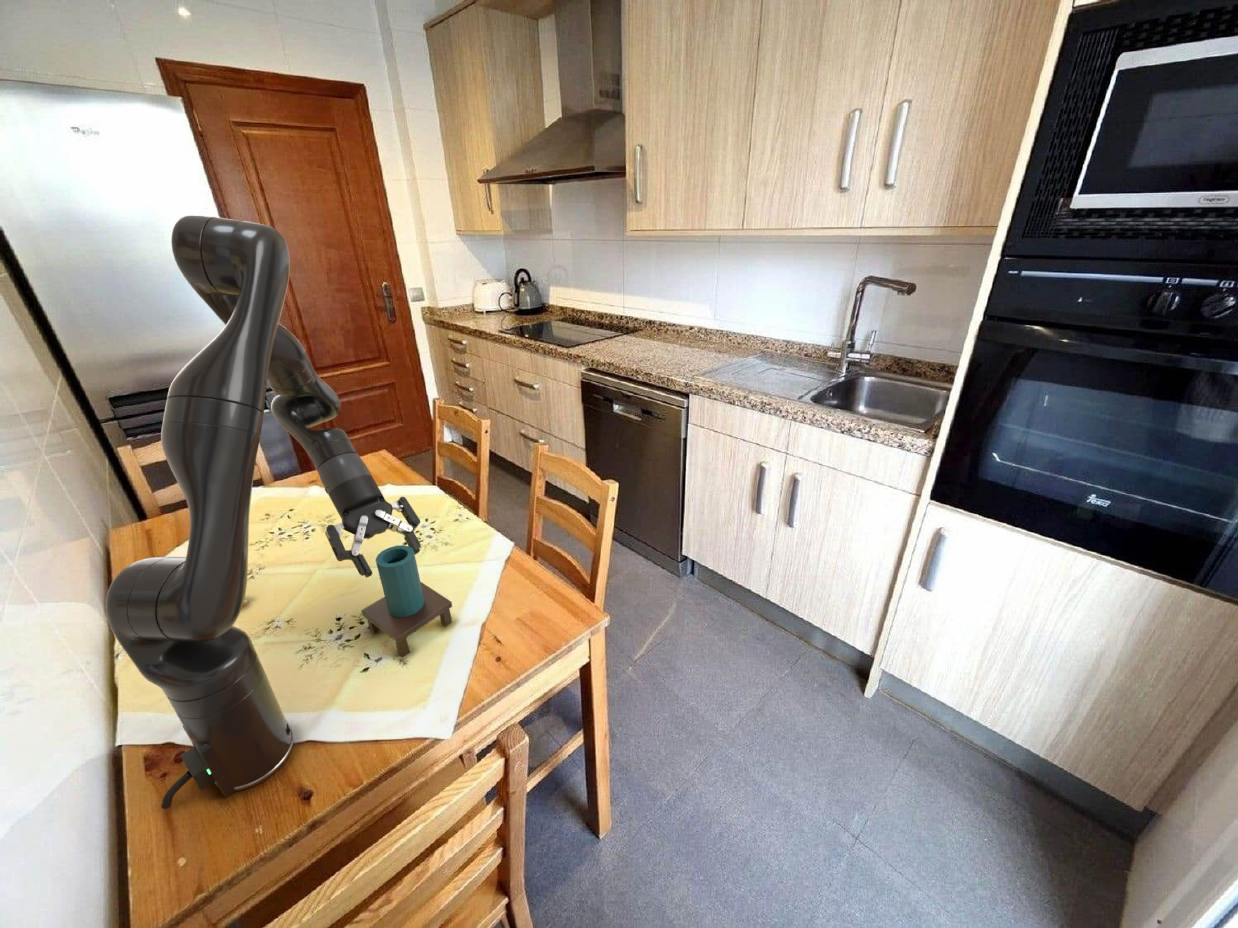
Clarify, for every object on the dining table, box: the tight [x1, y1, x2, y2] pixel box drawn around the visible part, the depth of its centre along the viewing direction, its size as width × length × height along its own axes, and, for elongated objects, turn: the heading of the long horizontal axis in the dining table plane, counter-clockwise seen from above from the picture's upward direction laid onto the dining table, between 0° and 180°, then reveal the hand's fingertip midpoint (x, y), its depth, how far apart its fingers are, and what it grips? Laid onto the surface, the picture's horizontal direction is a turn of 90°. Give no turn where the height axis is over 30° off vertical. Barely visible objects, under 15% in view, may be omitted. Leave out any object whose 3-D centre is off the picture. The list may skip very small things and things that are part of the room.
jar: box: [375, 545, 424, 617], centre depth 88 cm, size 6×6×11 cm
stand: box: [360, 581, 453, 658], centre depth 91 cm, size 11×11×5 cm
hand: (394, 563), depth 87 cm, fingers open, 8 cm apart
